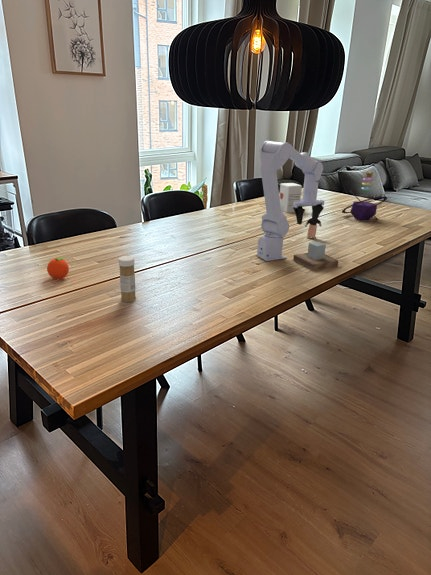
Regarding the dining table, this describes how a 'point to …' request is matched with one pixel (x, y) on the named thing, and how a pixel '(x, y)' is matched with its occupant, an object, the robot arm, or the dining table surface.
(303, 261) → the walnut block
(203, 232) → the dining table surface
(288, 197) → the supplement box
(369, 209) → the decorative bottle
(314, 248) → the grey block
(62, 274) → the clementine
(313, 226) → the grandmother figurine
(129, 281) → the sprinkles bottle
